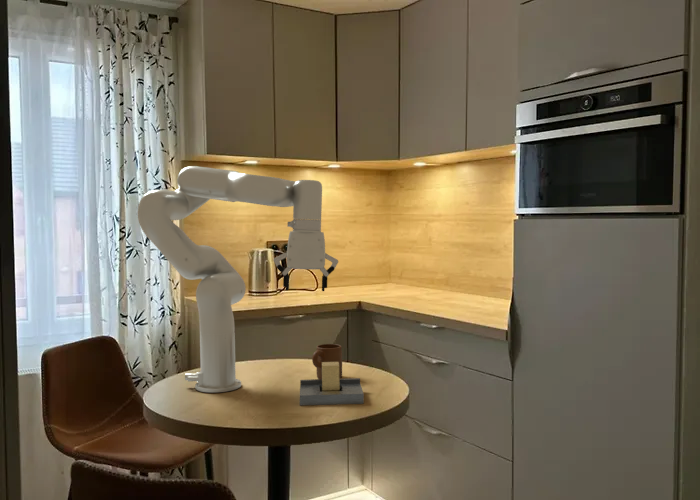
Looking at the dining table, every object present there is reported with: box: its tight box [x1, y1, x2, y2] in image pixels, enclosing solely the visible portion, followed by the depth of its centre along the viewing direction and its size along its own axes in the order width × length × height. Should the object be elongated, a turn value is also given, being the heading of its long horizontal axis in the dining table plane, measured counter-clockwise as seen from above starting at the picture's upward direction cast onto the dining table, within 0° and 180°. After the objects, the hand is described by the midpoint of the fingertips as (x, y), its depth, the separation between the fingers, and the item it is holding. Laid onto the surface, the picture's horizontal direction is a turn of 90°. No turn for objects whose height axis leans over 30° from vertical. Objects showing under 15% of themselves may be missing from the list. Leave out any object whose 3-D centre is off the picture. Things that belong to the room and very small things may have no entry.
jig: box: [299, 377, 365, 406], centre depth 162 cm, size 16×12×4 cm
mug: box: [311, 343, 343, 379], centre depth 182 cm, size 12×8×9 cm, turn 149°
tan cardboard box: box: [322, 362, 340, 392], centre depth 162 cm, size 4×4×9 cm
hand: (305, 290), depth 168 cm, fingers open, 9 cm apart
